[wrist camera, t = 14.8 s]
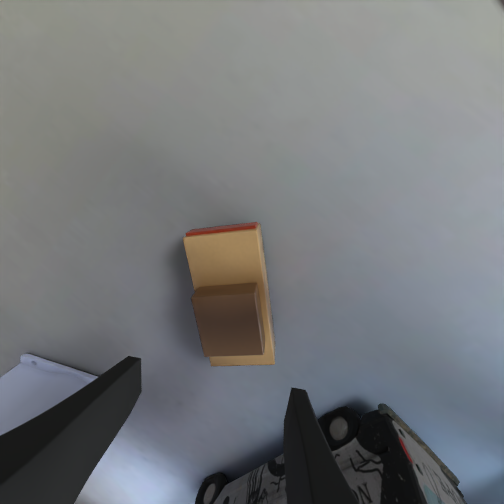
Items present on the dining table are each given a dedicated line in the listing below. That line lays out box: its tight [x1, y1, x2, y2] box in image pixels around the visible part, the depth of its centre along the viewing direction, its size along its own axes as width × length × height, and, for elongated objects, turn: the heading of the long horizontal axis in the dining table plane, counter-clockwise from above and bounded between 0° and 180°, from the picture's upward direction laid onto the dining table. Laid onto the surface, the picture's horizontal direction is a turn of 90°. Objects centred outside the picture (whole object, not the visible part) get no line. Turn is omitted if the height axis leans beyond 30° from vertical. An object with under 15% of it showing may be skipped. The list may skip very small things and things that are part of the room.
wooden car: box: [183, 222, 275, 366], centre depth 17 cm, size 10×5×5 cm, turn 8°
